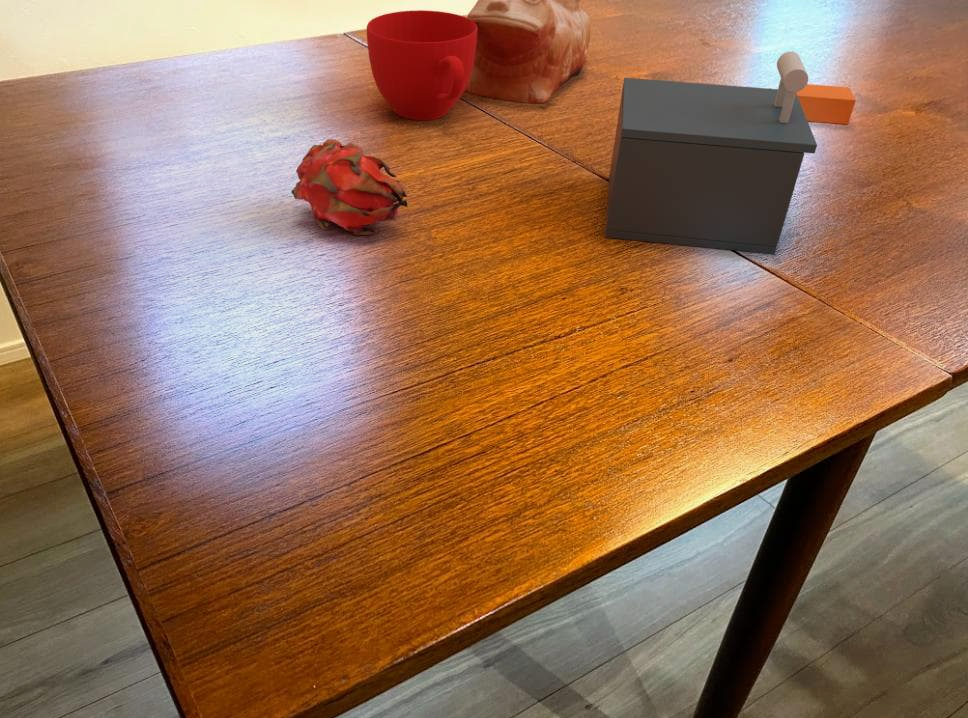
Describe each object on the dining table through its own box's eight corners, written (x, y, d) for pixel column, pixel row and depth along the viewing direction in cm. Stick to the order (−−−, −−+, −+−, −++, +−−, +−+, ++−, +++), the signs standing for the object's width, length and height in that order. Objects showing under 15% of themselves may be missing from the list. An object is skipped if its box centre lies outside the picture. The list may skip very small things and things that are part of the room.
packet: (841, 110, 111) (849, 87, 109) (848, 124, 107) (856, 100, 105) (783, 106, 112) (790, 82, 110) (788, 119, 108) (795, 95, 106)
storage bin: (759, 191, 92) (784, 98, 86) (774, 254, 82) (804, 153, 76) (608, 178, 94) (622, 85, 88) (605, 237, 84) (620, 137, 78)
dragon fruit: (300, 217, 89) (400, 263, 86) (258, 199, 81) (366, 249, 78) (333, 138, 88) (436, 181, 85) (293, 112, 80) (405, 159, 77)
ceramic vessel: (435, 101, 111) (438, -28, 102) (509, 44, 130) (517, -69, 120) (539, 120, 107) (551, -13, 97) (600, 58, 125) (616, -58, 116)
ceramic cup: (405, 150, 99) (405, 59, 93) (353, 99, 111) (350, 16, 105) (507, 133, 103) (513, 45, 97) (446, 86, 115) (449, 5, 109)
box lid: (793, 98, 86) (809, 38, 82) (814, 153, 75) (834, 88, 72) (623, 85, 88) (632, 26, 85) (620, 137, 78) (631, 72, 74)
